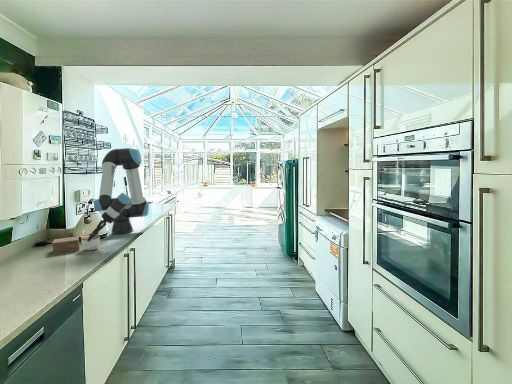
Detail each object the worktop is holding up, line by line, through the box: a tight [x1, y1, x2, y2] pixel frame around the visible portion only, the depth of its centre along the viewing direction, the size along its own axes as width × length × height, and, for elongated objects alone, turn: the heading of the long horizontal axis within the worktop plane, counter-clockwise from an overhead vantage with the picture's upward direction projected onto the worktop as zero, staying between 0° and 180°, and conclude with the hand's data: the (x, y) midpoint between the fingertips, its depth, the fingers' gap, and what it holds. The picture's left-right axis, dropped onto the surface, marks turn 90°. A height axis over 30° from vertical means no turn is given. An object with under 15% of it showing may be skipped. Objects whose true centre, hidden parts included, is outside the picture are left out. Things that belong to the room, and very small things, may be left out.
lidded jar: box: [80, 234, 101, 251], centre depth 241 cm, size 11×11×9 cm
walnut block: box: [51, 236, 81, 255], centre depth 244 cm, size 14×14×7 cm
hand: (85, 242), depth 241 cm, fingers closed on lidded jar, 11 cm apart
